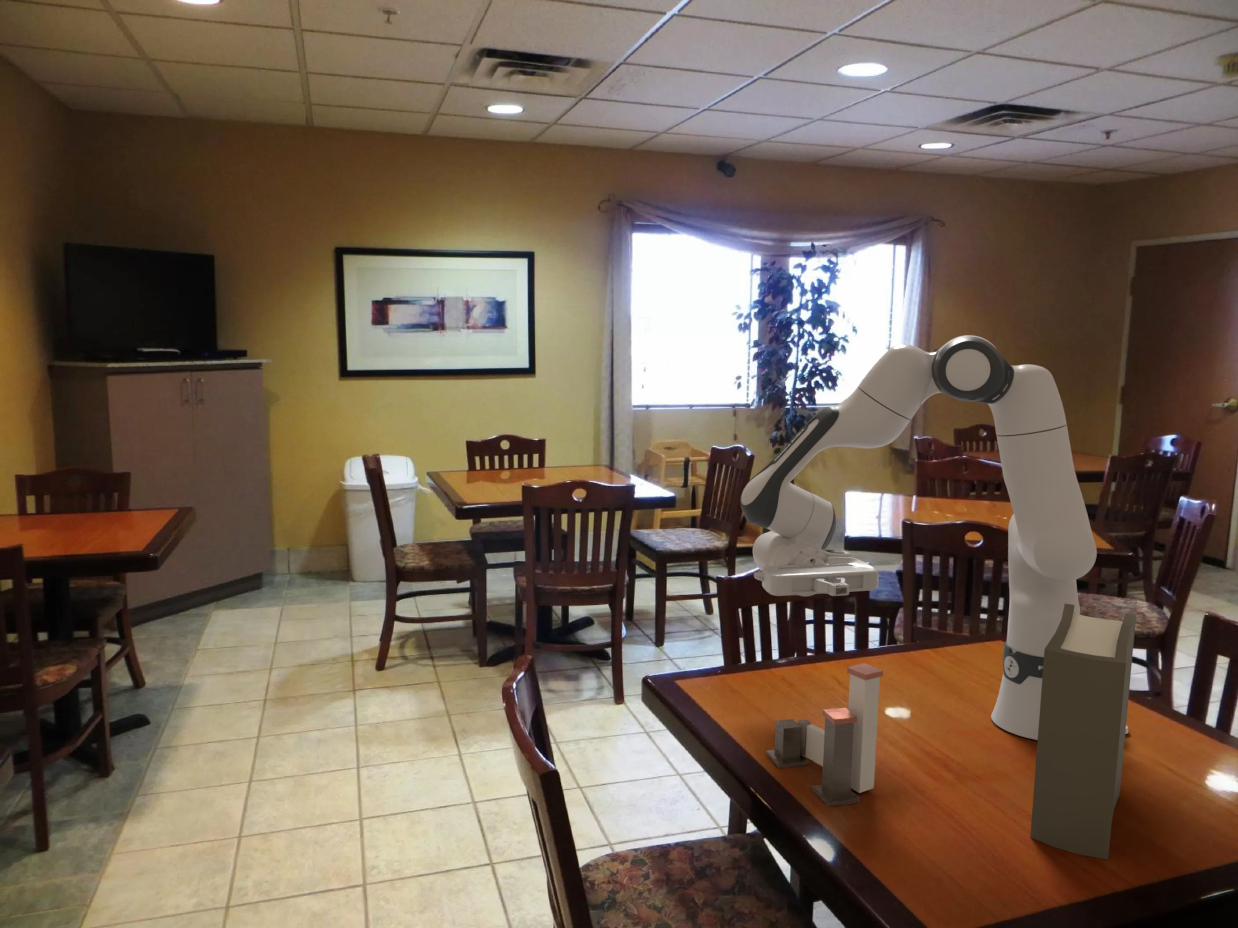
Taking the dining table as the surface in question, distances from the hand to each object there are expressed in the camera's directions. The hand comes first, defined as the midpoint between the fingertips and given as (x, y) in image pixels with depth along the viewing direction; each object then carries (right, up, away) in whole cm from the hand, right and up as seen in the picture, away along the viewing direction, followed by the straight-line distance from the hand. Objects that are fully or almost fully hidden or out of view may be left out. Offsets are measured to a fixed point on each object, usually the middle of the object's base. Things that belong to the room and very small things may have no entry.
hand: (841, 590), depth 146 cm
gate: (-4, -27, -8) cm, 28 cm away
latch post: (-5, -28, -15) cm, 32 cm away
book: (+28, -29, -20) cm, 46 cm away
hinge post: (-10, -27, -4) cm, 29 cm away
